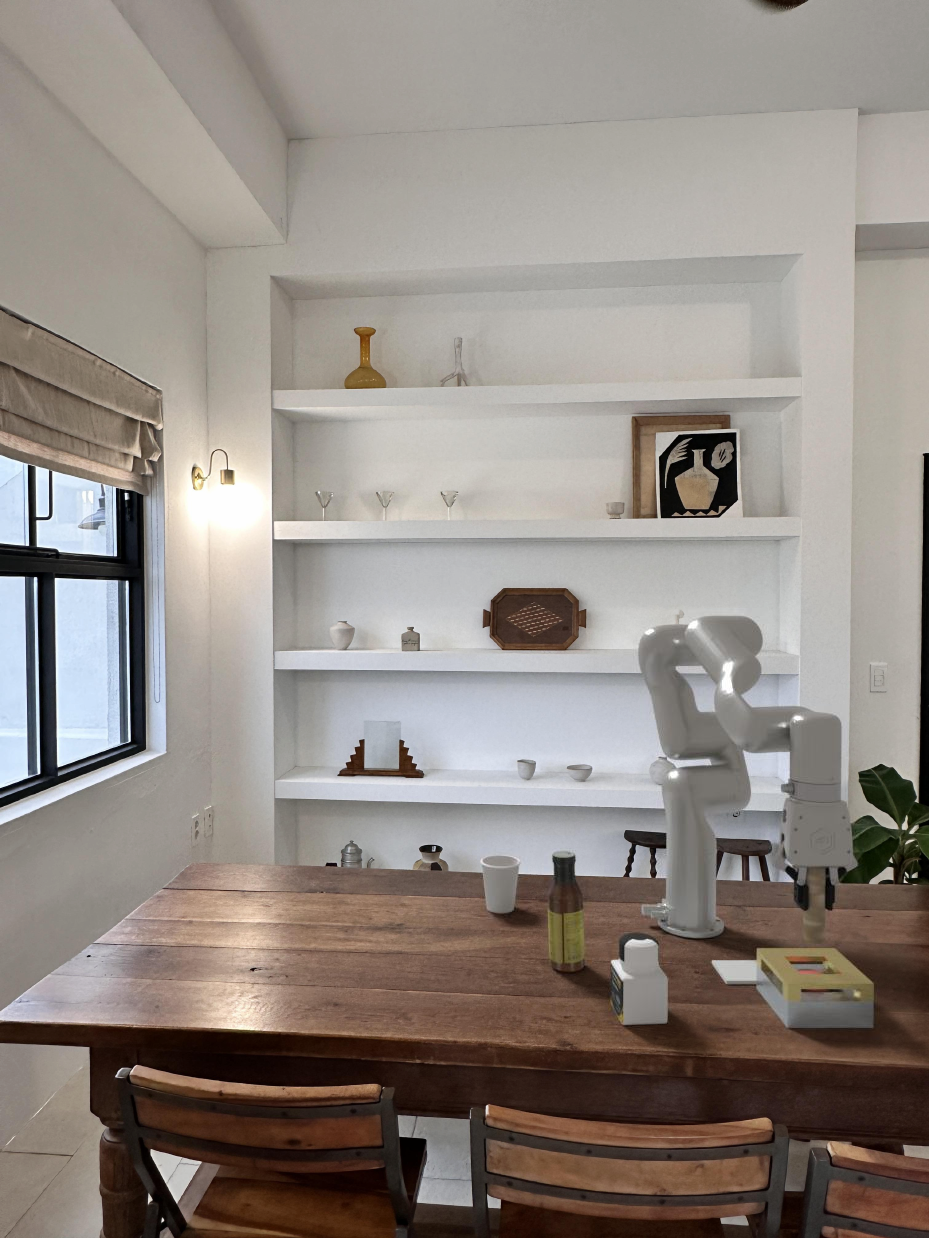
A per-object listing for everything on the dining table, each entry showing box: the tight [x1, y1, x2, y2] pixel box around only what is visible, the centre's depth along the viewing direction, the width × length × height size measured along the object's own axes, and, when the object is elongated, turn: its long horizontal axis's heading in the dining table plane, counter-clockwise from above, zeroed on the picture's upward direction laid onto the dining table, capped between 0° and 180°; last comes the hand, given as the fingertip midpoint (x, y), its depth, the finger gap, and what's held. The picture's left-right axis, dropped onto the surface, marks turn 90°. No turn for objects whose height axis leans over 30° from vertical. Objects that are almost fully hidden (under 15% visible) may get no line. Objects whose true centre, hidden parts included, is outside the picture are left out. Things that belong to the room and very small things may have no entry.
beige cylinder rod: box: [802, 867, 826, 945], centre depth 133 cm, size 3×3×15 cm
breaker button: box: [797, 969, 829, 992], centre depth 133 cm, size 5×5×2 cm
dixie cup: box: [480, 854, 521, 914], centre depth 176 cm, size 8×8×10 cm
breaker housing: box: [755, 947, 875, 1029], centre depth 133 cm, size 13×13×7 cm
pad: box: [711, 959, 757, 985], centre depth 145 cm, size 8×8×1 cm
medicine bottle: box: [610, 931, 669, 1026], centre depth 131 cm, size 7×7×12 cm
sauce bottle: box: [547, 850, 586, 973], centre depth 148 cm, size 6×6×20 cm
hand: (814, 906), depth 133 cm, fingers closed on beige cylinder rod, 3 cm apart
